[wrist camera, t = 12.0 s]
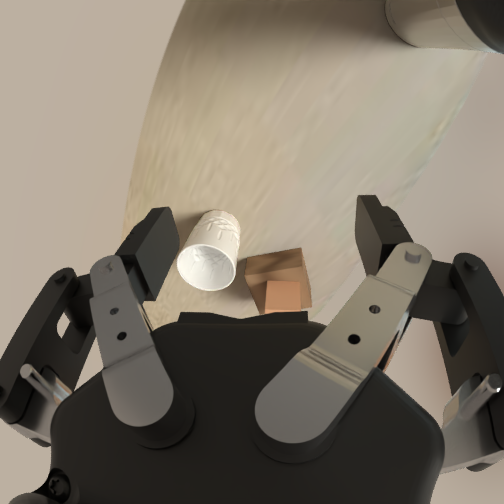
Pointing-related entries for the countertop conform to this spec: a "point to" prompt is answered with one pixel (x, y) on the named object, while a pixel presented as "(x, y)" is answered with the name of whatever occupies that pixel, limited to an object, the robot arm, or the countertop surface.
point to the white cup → (211, 252)
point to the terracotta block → (282, 296)
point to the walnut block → (277, 275)
